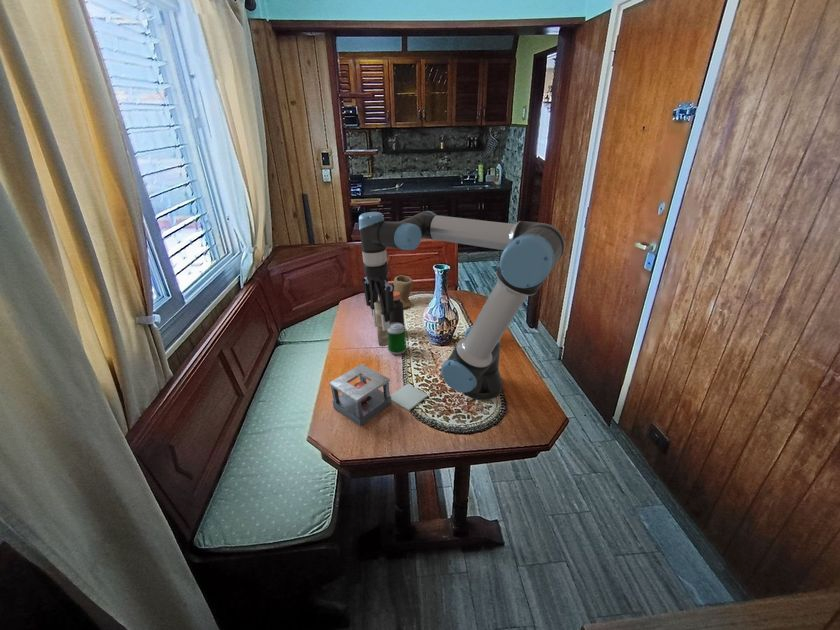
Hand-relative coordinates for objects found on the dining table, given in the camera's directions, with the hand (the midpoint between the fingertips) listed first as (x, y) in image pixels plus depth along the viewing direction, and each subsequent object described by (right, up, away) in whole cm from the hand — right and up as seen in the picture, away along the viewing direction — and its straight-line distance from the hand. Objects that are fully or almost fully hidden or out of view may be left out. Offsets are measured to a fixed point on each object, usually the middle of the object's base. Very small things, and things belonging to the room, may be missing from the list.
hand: (382, 327), depth 133 cm
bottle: (+3, -5, +41) cm, 41 cm away
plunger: (-7, -24, -3) cm, 25 cm away
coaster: (+9, -24, +1) cm, 26 cm away
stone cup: (+3, +10, +69) cm, 70 cm away
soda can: (+4, -11, +28) cm, 31 cm away
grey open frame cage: (-6, -27, -2) cm, 27 cm away
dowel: (0, -6, +3) cm, 7 cm away
